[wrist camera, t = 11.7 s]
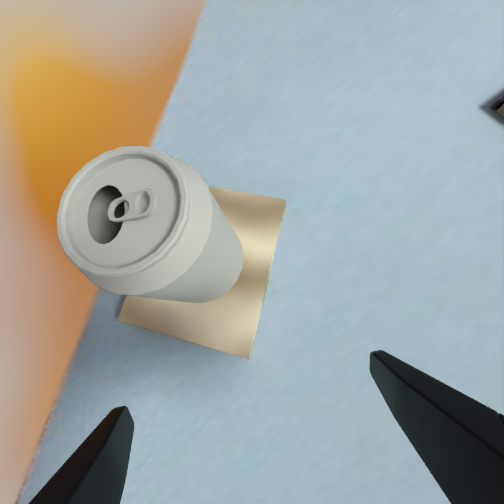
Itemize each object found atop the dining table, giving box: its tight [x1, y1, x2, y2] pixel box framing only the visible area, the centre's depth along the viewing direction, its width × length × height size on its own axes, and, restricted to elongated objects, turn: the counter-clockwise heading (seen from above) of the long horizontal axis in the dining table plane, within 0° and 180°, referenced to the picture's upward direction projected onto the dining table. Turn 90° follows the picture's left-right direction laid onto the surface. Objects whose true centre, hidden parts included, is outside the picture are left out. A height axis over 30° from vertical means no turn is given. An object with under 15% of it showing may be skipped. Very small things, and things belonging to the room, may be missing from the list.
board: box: [118, 186, 286, 359], centre depth 23 cm, size 14×12×2 cm
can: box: [57, 146, 243, 303], centre depth 16 cm, size 8×8×12 cm
